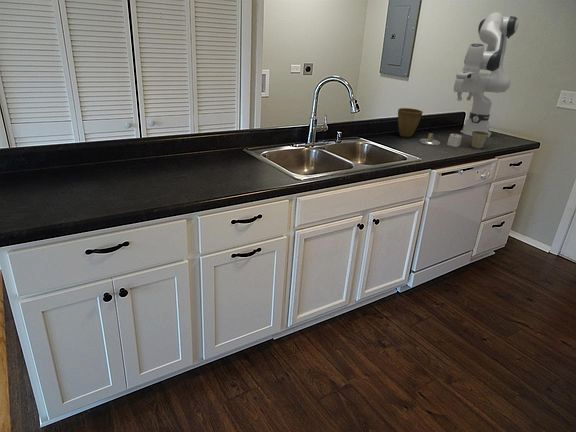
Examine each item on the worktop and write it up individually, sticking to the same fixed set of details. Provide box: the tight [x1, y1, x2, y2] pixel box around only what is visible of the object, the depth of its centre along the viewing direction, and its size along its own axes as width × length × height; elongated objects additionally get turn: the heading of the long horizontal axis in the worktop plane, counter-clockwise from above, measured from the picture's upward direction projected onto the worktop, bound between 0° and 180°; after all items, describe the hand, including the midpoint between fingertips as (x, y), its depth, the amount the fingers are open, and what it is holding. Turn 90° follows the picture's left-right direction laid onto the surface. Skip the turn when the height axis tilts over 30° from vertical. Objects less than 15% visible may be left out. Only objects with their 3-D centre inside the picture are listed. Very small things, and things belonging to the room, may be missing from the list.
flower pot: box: [470, 131, 489, 149], centre depth 235 cm, size 9×9×9 cm
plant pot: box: [397, 107, 424, 138], centre depth 250 cm, size 15×15×16 cm
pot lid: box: [418, 132, 441, 147], centre depth 238 cm, size 12×12×6 cm
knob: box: [446, 133, 463, 148], centre depth 236 cm, size 6×6×7 cm
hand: (463, 100), depth 228 cm, fingers open, 8 cm apart
